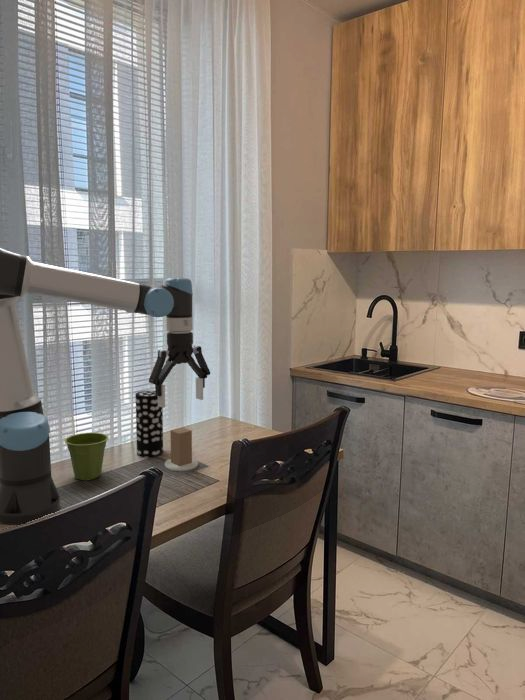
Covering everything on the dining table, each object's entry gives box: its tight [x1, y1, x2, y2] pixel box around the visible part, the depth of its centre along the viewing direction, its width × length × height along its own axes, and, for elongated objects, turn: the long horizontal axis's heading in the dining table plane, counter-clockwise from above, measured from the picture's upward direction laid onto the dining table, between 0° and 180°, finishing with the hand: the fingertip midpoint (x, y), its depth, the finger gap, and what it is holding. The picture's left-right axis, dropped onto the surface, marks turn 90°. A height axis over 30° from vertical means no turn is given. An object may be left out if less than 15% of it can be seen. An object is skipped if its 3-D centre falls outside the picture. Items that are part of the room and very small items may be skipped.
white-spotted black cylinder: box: [135, 390, 164, 458], centre depth 170 cm, size 8×8×20 cm
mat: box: [153, 460, 210, 478], centre depth 161 cm, size 12×12×1 cm
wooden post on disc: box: [164, 427, 199, 472], centre depth 160 cm, size 10×10×11 cm
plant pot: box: [64, 432, 109, 481], centre depth 152 cm, size 12×12×11 cm
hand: (181, 402), depth 158 cm, fingers open, 13 cm apart
